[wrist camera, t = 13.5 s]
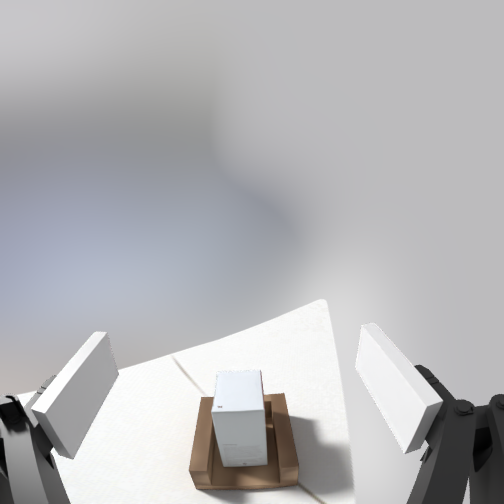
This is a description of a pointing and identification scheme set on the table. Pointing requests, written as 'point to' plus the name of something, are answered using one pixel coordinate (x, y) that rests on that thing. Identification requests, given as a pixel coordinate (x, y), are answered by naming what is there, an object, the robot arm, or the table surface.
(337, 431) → the table surface
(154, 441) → the table surface
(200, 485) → the rack
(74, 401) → the robot arm
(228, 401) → the small box
